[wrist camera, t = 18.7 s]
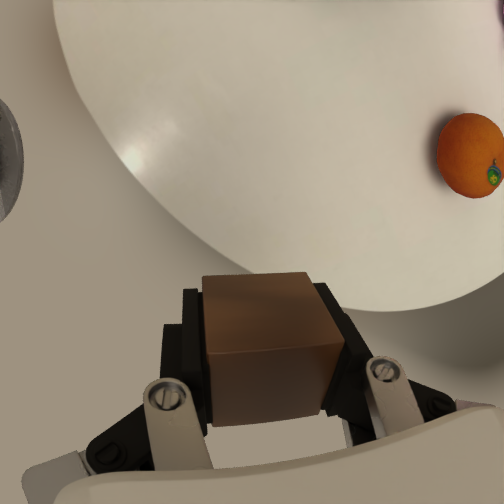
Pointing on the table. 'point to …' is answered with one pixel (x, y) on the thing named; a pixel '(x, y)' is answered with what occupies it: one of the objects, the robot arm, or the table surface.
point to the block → (267, 347)
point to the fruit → (471, 155)
